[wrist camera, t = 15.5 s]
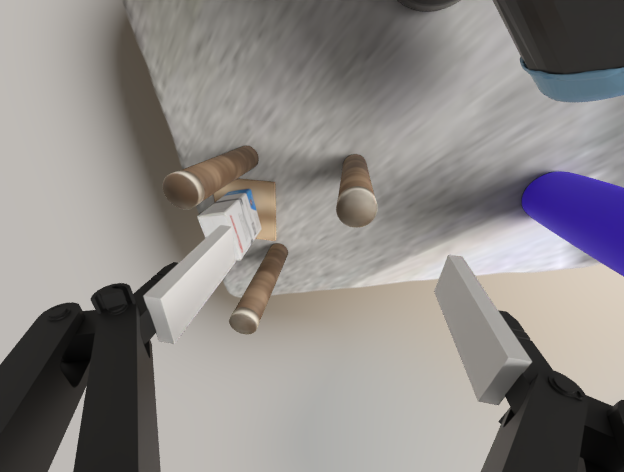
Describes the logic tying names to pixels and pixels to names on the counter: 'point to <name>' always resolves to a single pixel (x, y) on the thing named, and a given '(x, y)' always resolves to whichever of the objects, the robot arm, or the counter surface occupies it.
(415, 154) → the counter surface
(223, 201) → the ink box
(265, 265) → the corner post
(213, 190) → the gate post
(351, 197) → the gate post
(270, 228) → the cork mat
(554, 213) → the bottle
